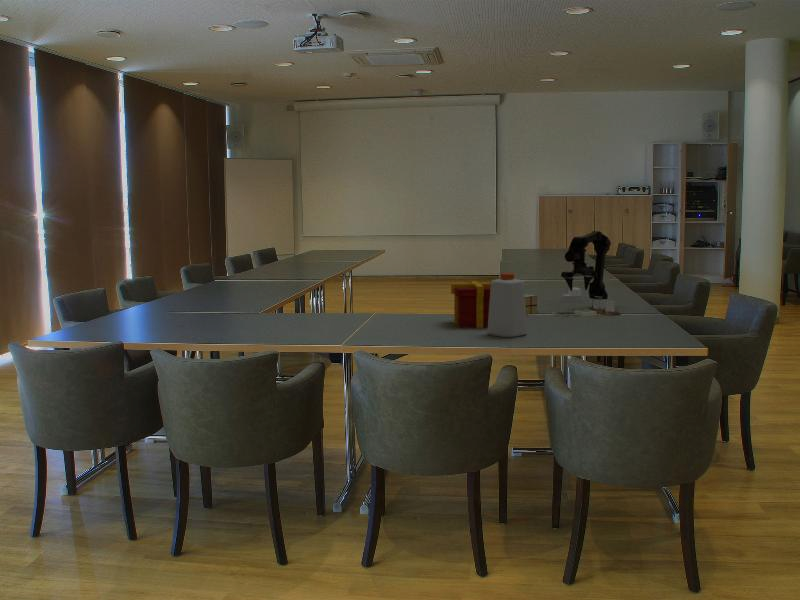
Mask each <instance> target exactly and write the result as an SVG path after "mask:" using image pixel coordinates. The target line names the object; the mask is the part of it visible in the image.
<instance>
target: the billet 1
mask: <svg viewBox="0 0 800 600" xmlns="http://www.w3.org/2000/svg"><path fill="white" fill-rule="evenodd" d="M605 301H607V299H592V309H593V310H597V311H600V310H605Z"/></svg>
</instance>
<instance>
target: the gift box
mask: <svg viewBox="0 0 800 600" xmlns="http://www.w3.org/2000/svg"><path fill="white" fill-rule="evenodd" d="M490 289H491V282H483V283H482V282H478V281H477V280H470V281H469V283H450V294H452V295H453V296H454V297H453V298H454V299H453V301H454V302H453V309H454V314H453V318H454V320H453V322H454V323H453V324H454V326H458V327H459V328H460V329H462V328H463V329H465V328H466V329H467V328H468V329H469V328H476V329H484V328H488V317H489V303H490Z"/></svg>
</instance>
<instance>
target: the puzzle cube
mask: <svg viewBox="0 0 800 600" xmlns="http://www.w3.org/2000/svg"><path fill="white" fill-rule="evenodd" d="M525 309H526V315H531V314H532V315H533V314H537V313H538V295H536V294H527V293H525Z"/></svg>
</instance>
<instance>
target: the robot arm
mask: <svg viewBox="0 0 800 600" xmlns="http://www.w3.org/2000/svg"><path fill="white" fill-rule="evenodd" d="M590 243H592V245H593V249H594V251H595V253H596V254H595V265H594V266H593V265H589V266H588V265H587V262H585V261H586V260H585V259H586V252H587V249H586V248H587V247H588V246H589V244H590ZM610 247H611V240H610V238H608V236H606V235H605V234H603V233H602V232H601V231H597V230H593V231H591V232H590V233H587V234H584V235H582V236H574V237H572V239H571V242H570V244H569V247H568V250H567V251H566V252H565V255H564V259H565V260H566V262H568V263H571V264H572V265H573V269H572V270H571V271H561V273H560V277H561V278H562V279H564V280H565V282H566V283H567V286H568V288H570V291H572V288H573V281H574V279H575V278H574V277H577V276H583V281H584V282H583V283H584V285H583V286H584V290H585V291H588V295H589V299H592V300H593V299H606V300H607V299H608V297H609V296H608V295H609V294H608V292H607V290H606V285H605V282H604V280H603V279H604V273H605V261H606V255H607V253H608V252H609V251H610Z"/></svg>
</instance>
